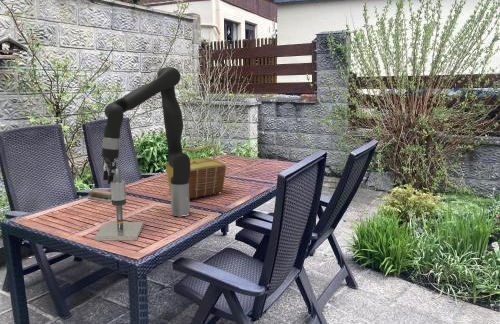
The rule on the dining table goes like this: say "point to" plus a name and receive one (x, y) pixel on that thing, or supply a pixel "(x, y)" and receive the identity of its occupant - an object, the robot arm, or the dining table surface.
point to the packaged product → (100, 195)
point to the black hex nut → (118, 202)
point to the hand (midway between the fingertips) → (107, 181)
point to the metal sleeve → (118, 191)
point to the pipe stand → (119, 224)
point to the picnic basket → (203, 175)
